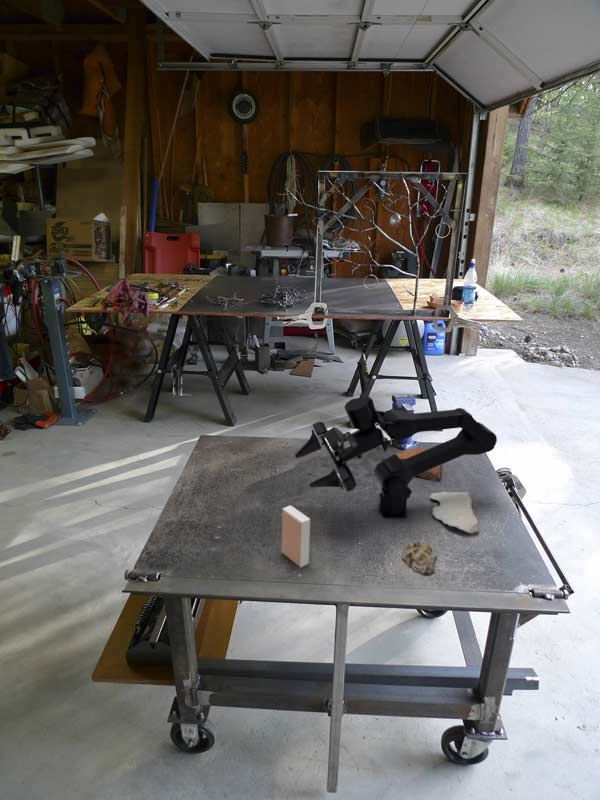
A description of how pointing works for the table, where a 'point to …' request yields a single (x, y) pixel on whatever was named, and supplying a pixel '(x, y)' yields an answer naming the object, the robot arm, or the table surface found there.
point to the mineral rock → (419, 557)
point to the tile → (295, 536)
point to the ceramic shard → (430, 474)
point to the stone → (455, 510)
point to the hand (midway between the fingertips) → (302, 471)
